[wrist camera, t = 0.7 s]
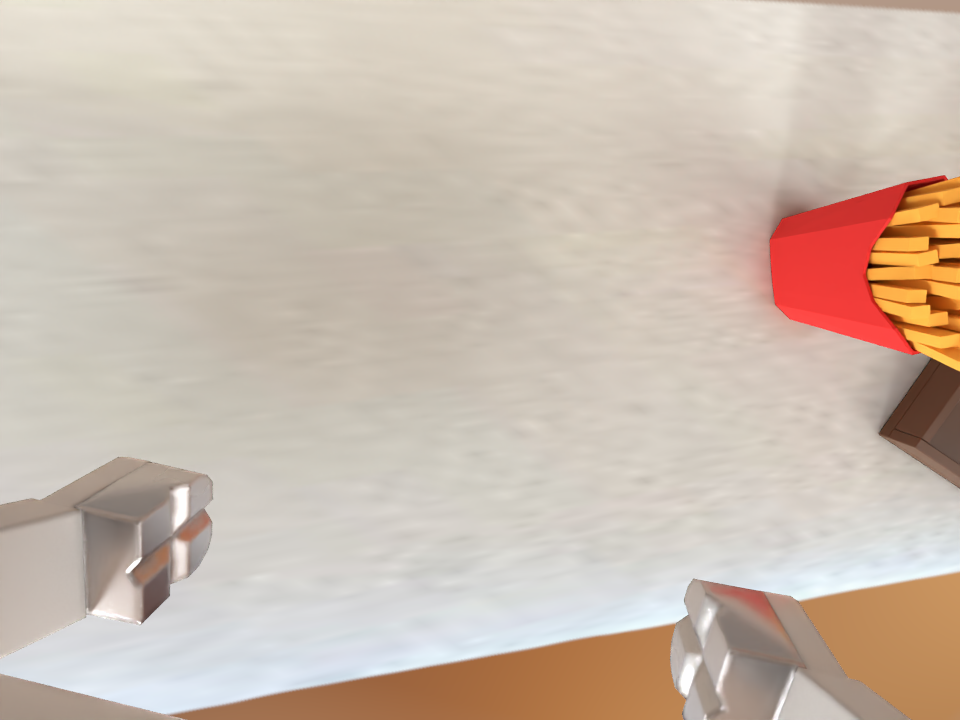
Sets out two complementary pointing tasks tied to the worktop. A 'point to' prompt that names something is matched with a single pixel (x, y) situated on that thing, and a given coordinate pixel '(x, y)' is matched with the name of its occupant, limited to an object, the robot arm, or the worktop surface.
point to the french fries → (877, 268)
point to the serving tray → (930, 421)
